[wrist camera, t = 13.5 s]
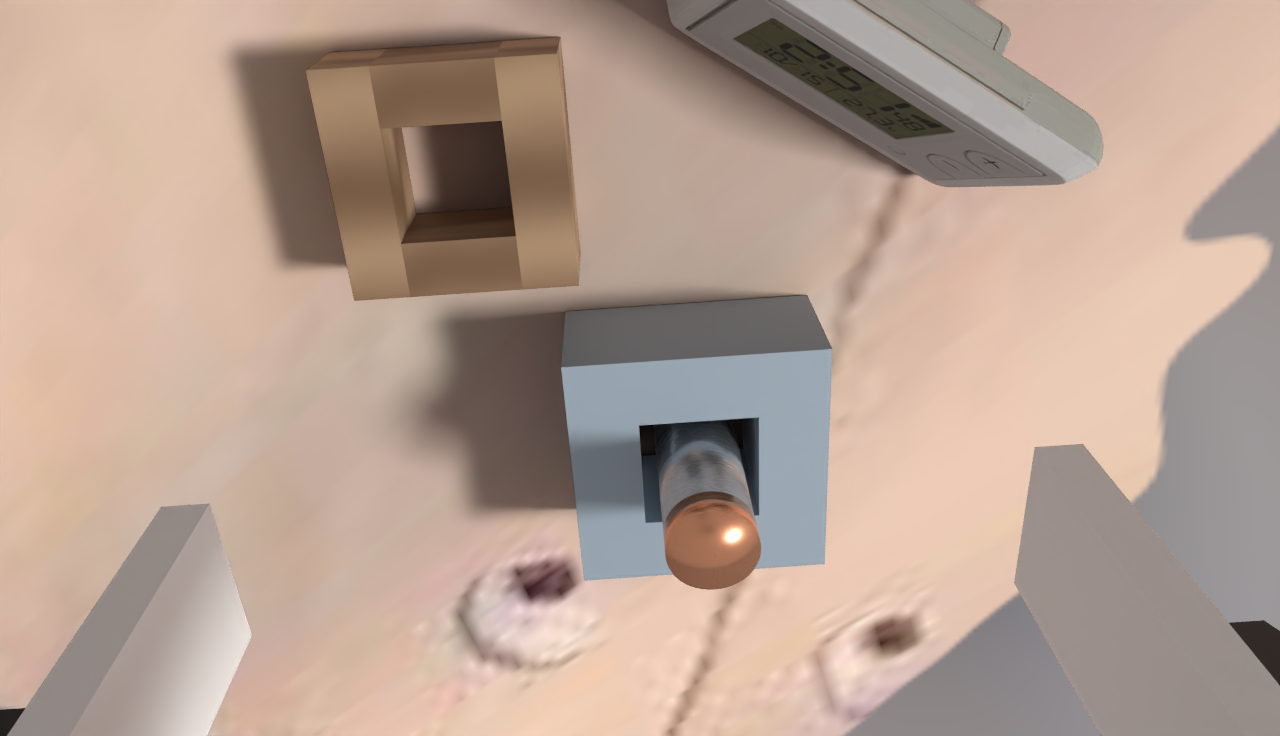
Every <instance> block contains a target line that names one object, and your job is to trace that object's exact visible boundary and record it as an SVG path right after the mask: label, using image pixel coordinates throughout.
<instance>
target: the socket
mask: <svg viewBox="0 0 1280 736" xmlns="http://www.w3.org/2000/svg"><path fill="white" fill-rule="evenodd" d="M831 370H832V347H831V345H830V343H829V341H828V339H827V337H826V334H825V332H824V330H823V328H822V326H821V324H820V322H819V319H818V317H817V315H816V313H815V311H814V309H813V307H812V304H811V302H810V300H809V298H808V296H807V295H800V296H786V297H771V298H756V299H741V300H727V301H712V302H697V303H682V304H667V305H653V306H638V307H623V308H608V309H594V310H579V311H566V312H565V324H564V337H563V349H562V362H561V371H562V381H563V390H564V399H565V408H566V418H567V427H568V436H569V445H570V454H571V464H572V473H573V482H574V491H575V501H576V510H577V519H578V528H579V537H580V547H581V556H582V565H583V574H584V580H599V579H613V578H628V577H643V576H657V575H672V574H673V573H672V572H671V570H670V569H669V567H668V565H667V562H666V557H665V546H664V535H663V524H662V513H661V502H660V491H659V480H658V469H657V458H656V455H645V456H641V445H640V431H639V426H640V425H654V424H669V423H684V422H698V421H713V420H728V419H742V418H743V449H739V451H740V455H741V460H742V464H743V468H744V473H745V477H746V481H747V486H748V490H749V494H750V499H751V503H752V507H753V512H754V516H755V520H756V525H757V529H758V533H759V538H760V542H761V555H760V559H759V561H758V564H757V565H756V567H755V569H759V568H774V567H788V566H803V565H817V564H825V536H826V508H827V481H828V453H829V426H830V398H831Z"/></svg>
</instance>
